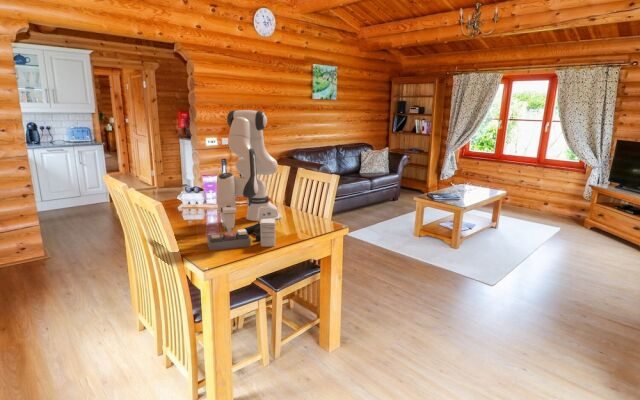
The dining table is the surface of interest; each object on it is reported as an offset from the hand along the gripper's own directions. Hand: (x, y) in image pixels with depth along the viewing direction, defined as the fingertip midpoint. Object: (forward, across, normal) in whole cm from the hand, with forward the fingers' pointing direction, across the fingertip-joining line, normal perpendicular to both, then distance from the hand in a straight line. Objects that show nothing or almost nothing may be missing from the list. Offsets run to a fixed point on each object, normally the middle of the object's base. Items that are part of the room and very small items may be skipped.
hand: (227, 232), depth 189 cm
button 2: (0, +5, +6) cm, 8 cm away
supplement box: (+6, +8, +19) cm, 22 cm away
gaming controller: (+6, -6, +17) cm, 19 cm away
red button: (+2, +5, 0) cm, 5 cm away
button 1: (+2, +5, -6) cm, 8 cm away
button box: (+6, +2, 0) cm, 6 cm away
